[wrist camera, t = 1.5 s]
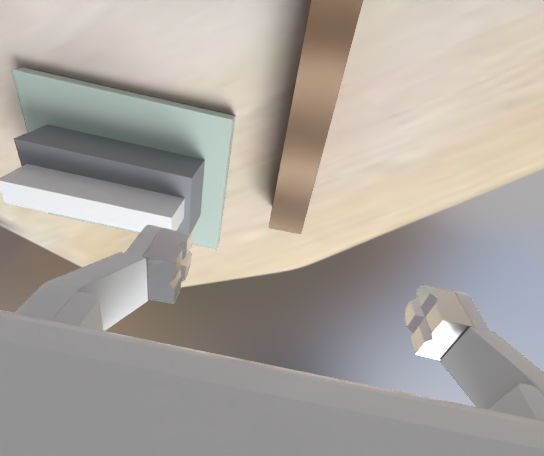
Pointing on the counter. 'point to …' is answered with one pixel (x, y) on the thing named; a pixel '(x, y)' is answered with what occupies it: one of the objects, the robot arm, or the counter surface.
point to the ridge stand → (119, 157)
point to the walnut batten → (312, 107)
